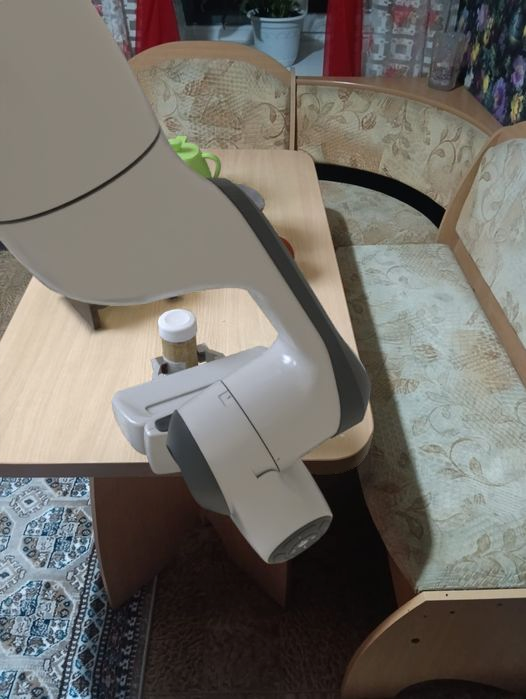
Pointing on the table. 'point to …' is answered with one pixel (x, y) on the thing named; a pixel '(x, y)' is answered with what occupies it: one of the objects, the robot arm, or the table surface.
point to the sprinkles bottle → (178, 339)
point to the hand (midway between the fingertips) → (177, 354)
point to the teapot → (195, 157)
